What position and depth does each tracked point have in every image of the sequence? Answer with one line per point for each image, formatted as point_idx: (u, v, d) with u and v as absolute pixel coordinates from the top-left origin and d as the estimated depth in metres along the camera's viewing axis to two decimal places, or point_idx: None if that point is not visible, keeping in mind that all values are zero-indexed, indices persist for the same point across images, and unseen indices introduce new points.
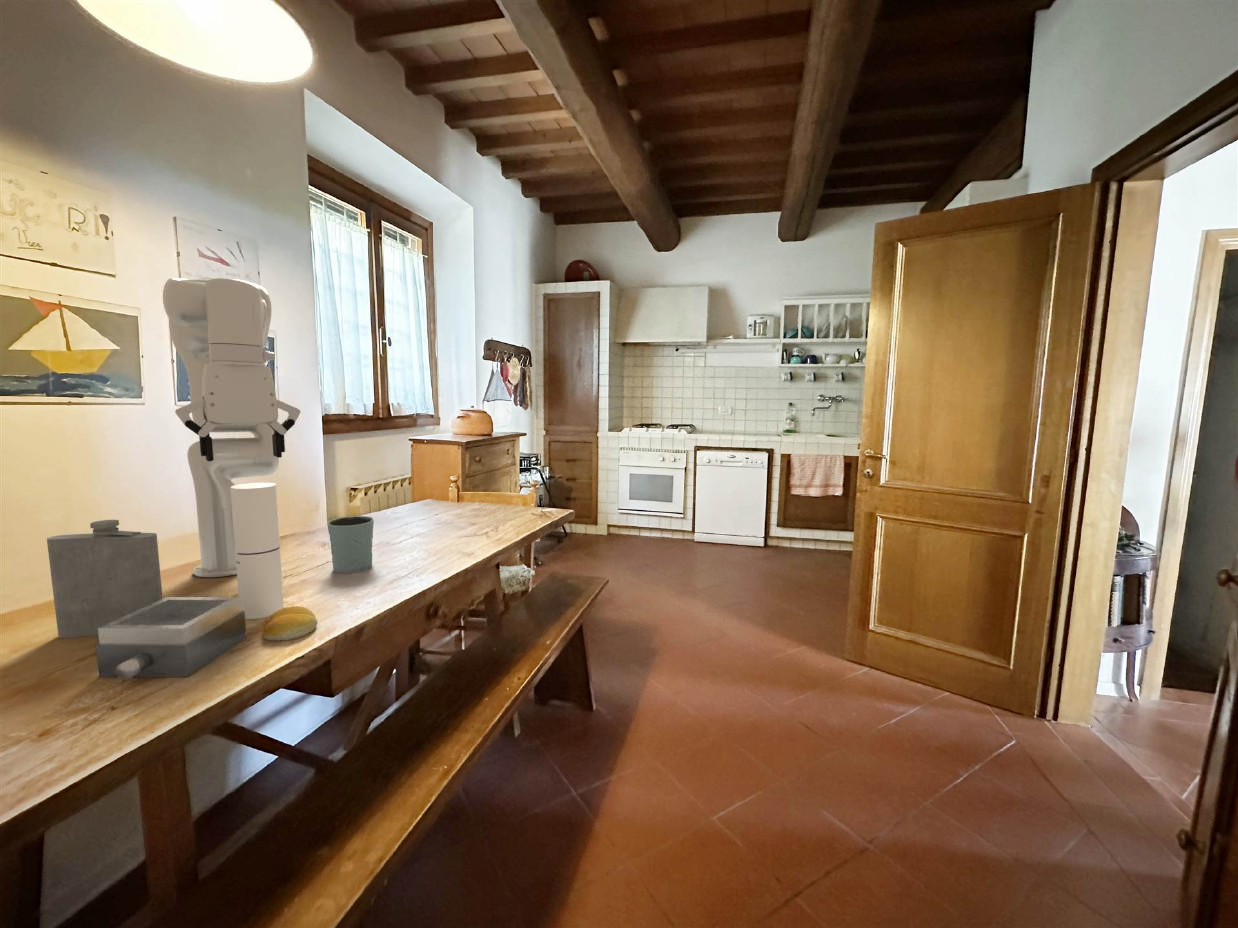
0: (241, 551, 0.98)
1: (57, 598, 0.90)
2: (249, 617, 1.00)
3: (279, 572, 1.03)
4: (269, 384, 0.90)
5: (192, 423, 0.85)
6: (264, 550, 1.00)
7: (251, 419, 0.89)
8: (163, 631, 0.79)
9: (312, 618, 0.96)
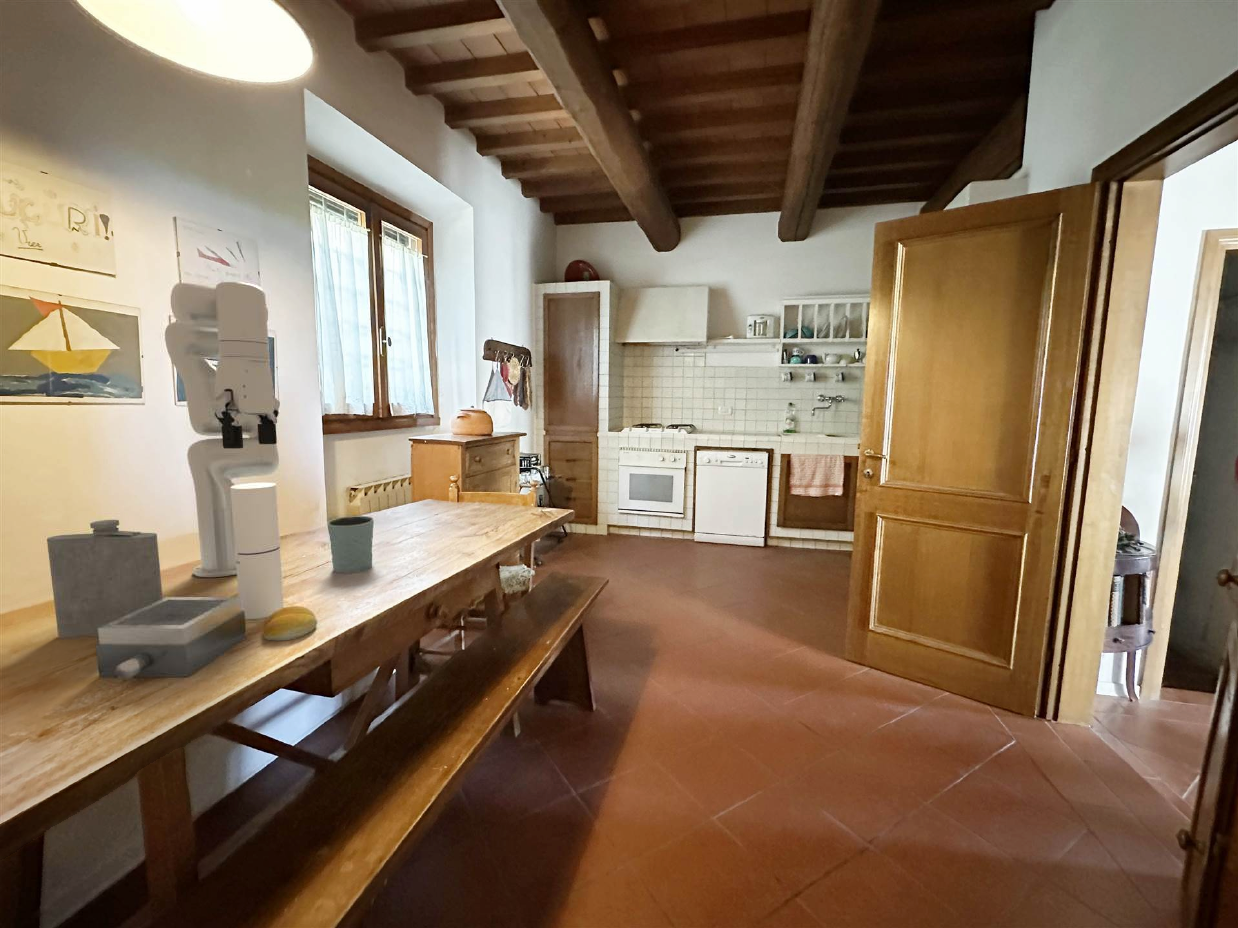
0: (241, 551, 0.98)
1: (58, 598, 0.90)
2: (249, 617, 1.00)
3: (279, 572, 1.03)
4: (271, 378, 1.02)
5: (228, 413, 0.92)
6: (264, 550, 1.00)
7: (263, 409, 0.99)
8: (163, 631, 0.79)
9: (312, 618, 0.96)
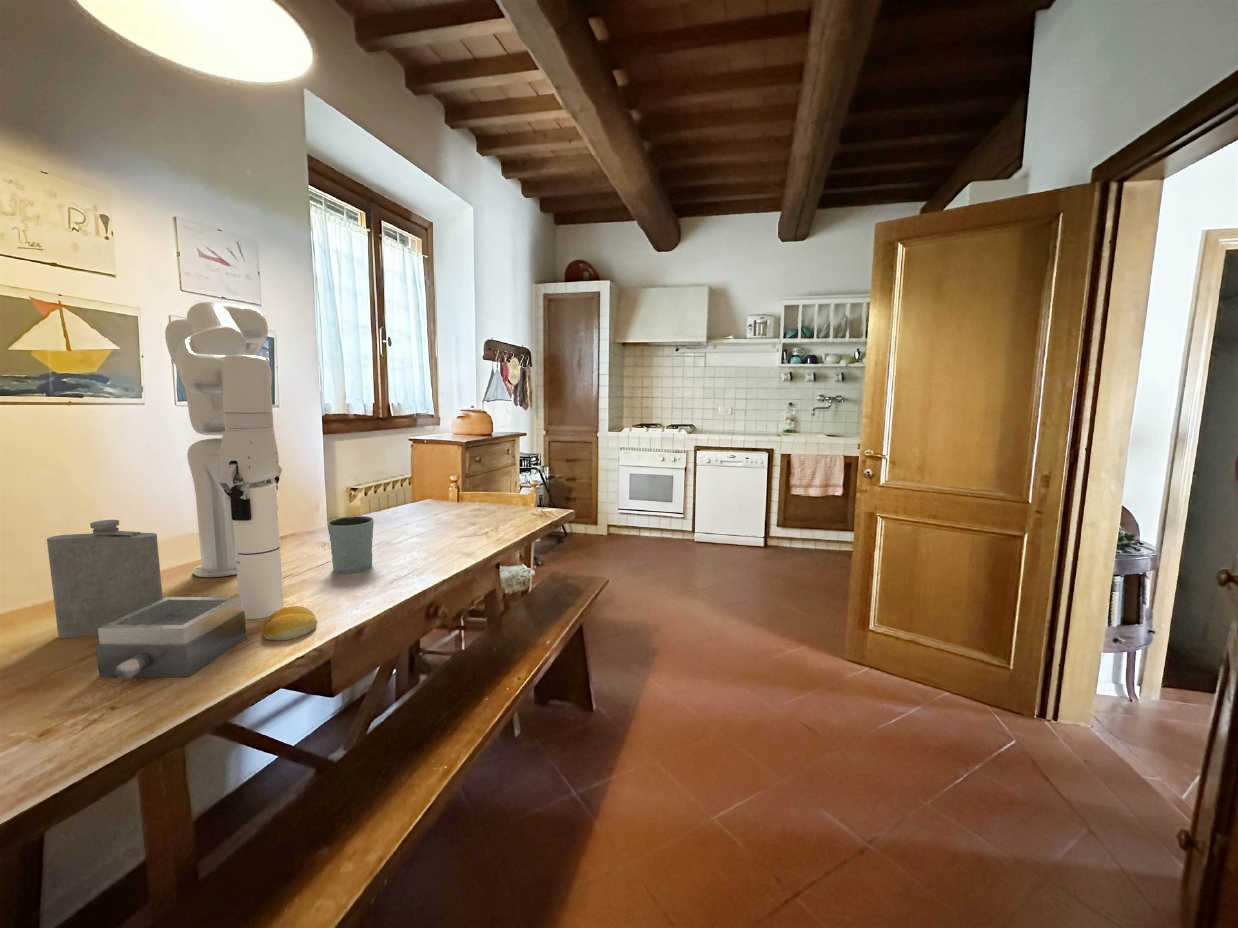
0: (241, 551, 0.98)
1: (57, 598, 0.90)
2: (249, 617, 1.00)
3: (279, 572, 1.03)
4: (275, 444, 1.03)
5: (237, 488, 0.95)
6: (264, 550, 1.00)
7: (267, 476, 1.01)
8: (163, 631, 0.79)
9: (312, 618, 0.96)
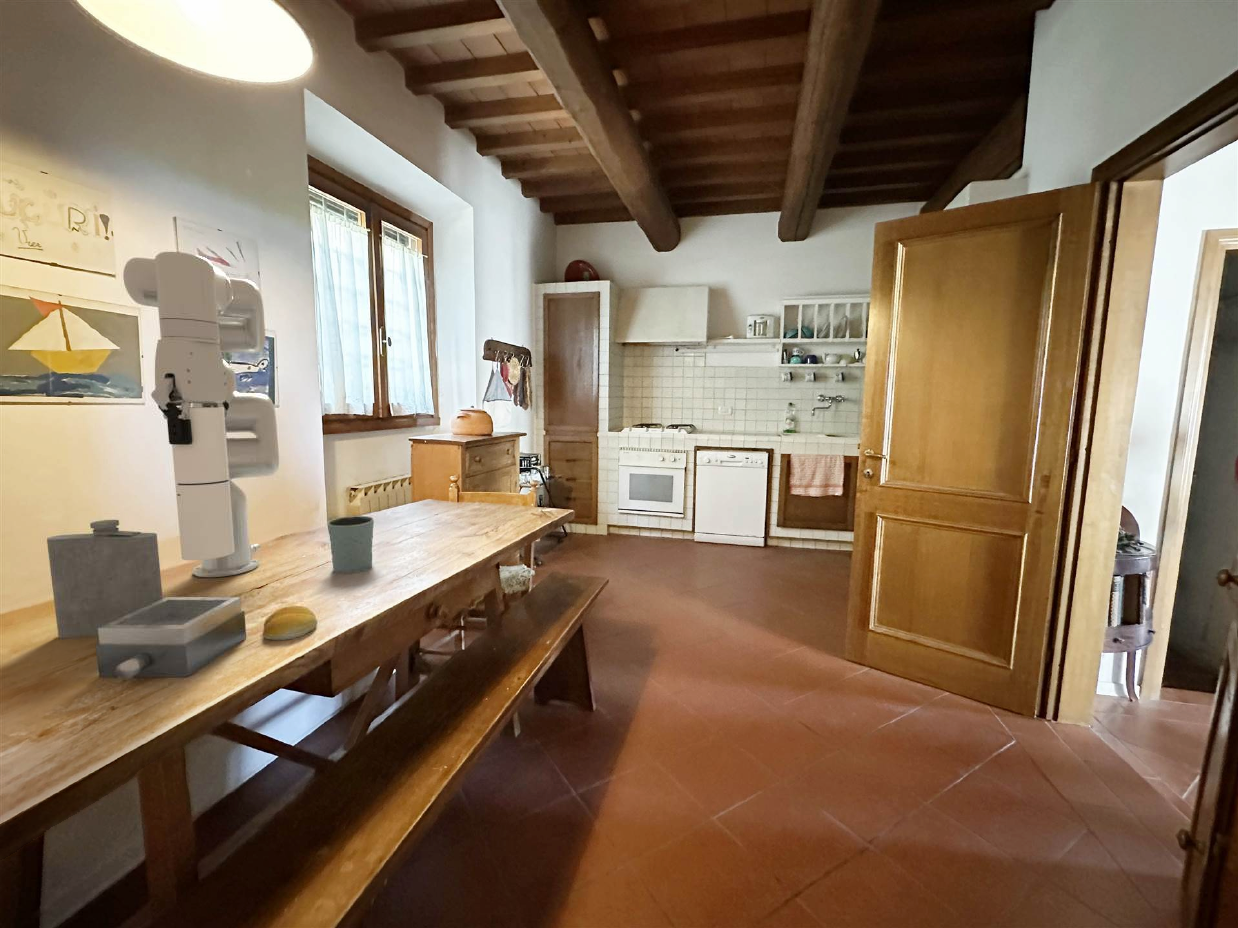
0: (181, 481, 0.85)
1: (57, 598, 0.90)
2: (192, 558, 0.87)
3: (228, 509, 0.90)
4: (222, 363, 0.91)
5: (174, 405, 0.82)
6: (209, 481, 0.87)
7: (213, 398, 0.88)
8: (163, 631, 0.79)
9: (312, 617, 0.96)
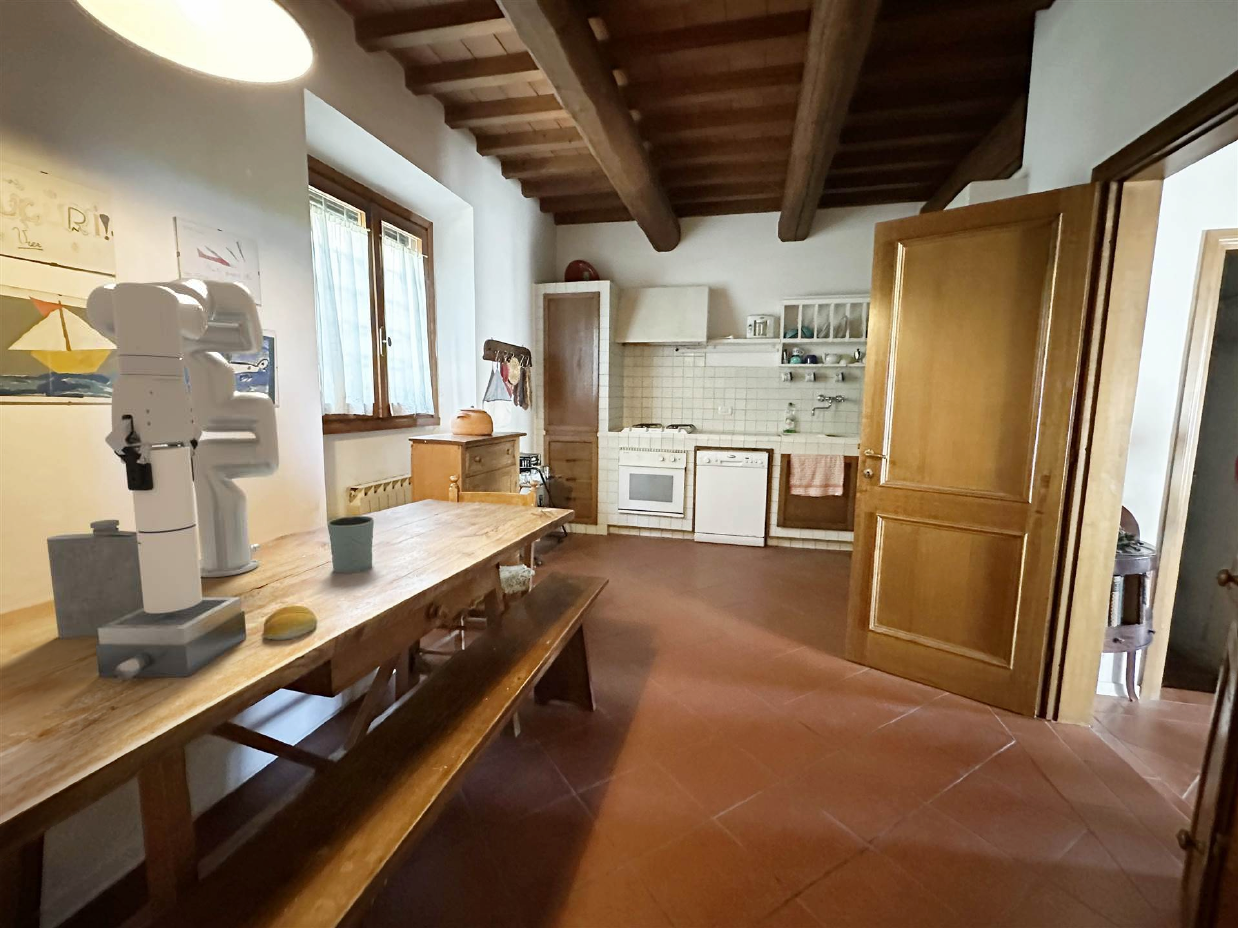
0: (142, 529, 0.79)
1: (57, 598, 0.90)
2: (154, 611, 0.81)
3: (194, 556, 0.84)
4: (189, 399, 0.84)
5: (131, 449, 0.76)
6: (172, 528, 0.81)
7: (177, 437, 0.82)
8: (163, 631, 0.79)
9: (312, 617, 0.96)
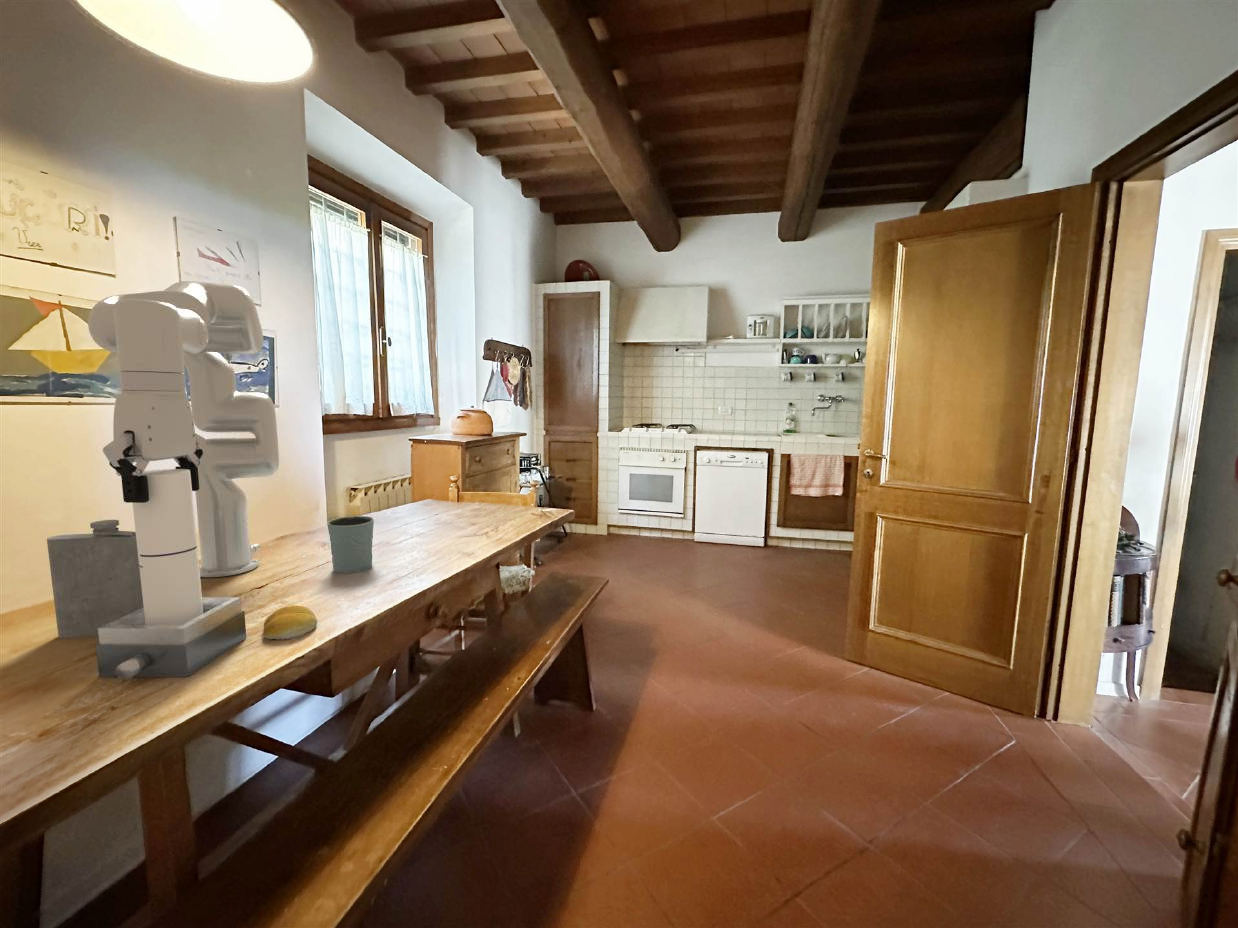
0: (144, 552, 0.80)
1: (57, 598, 0.90)
2: None
3: (195, 578, 0.85)
4: (190, 413, 0.85)
5: (127, 461, 0.75)
6: (173, 551, 0.81)
7: (179, 452, 0.83)
8: (163, 631, 0.79)
9: (312, 617, 0.96)
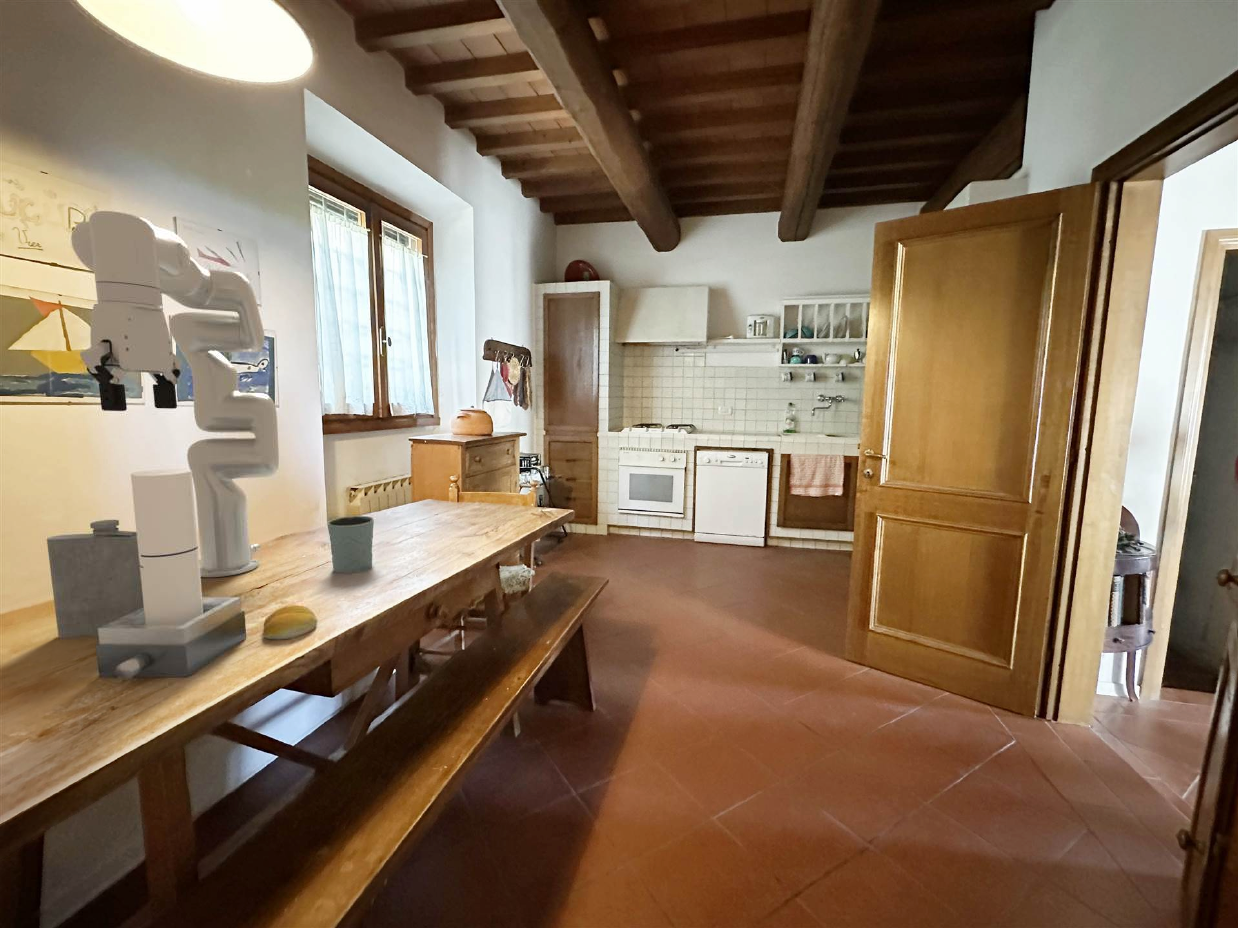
0: (144, 553, 0.80)
1: (57, 598, 0.90)
2: None
3: (196, 578, 0.85)
4: (167, 331, 0.87)
5: (104, 368, 0.77)
6: (174, 551, 0.81)
7: (156, 367, 0.85)
8: (163, 631, 0.79)
9: (312, 617, 0.96)
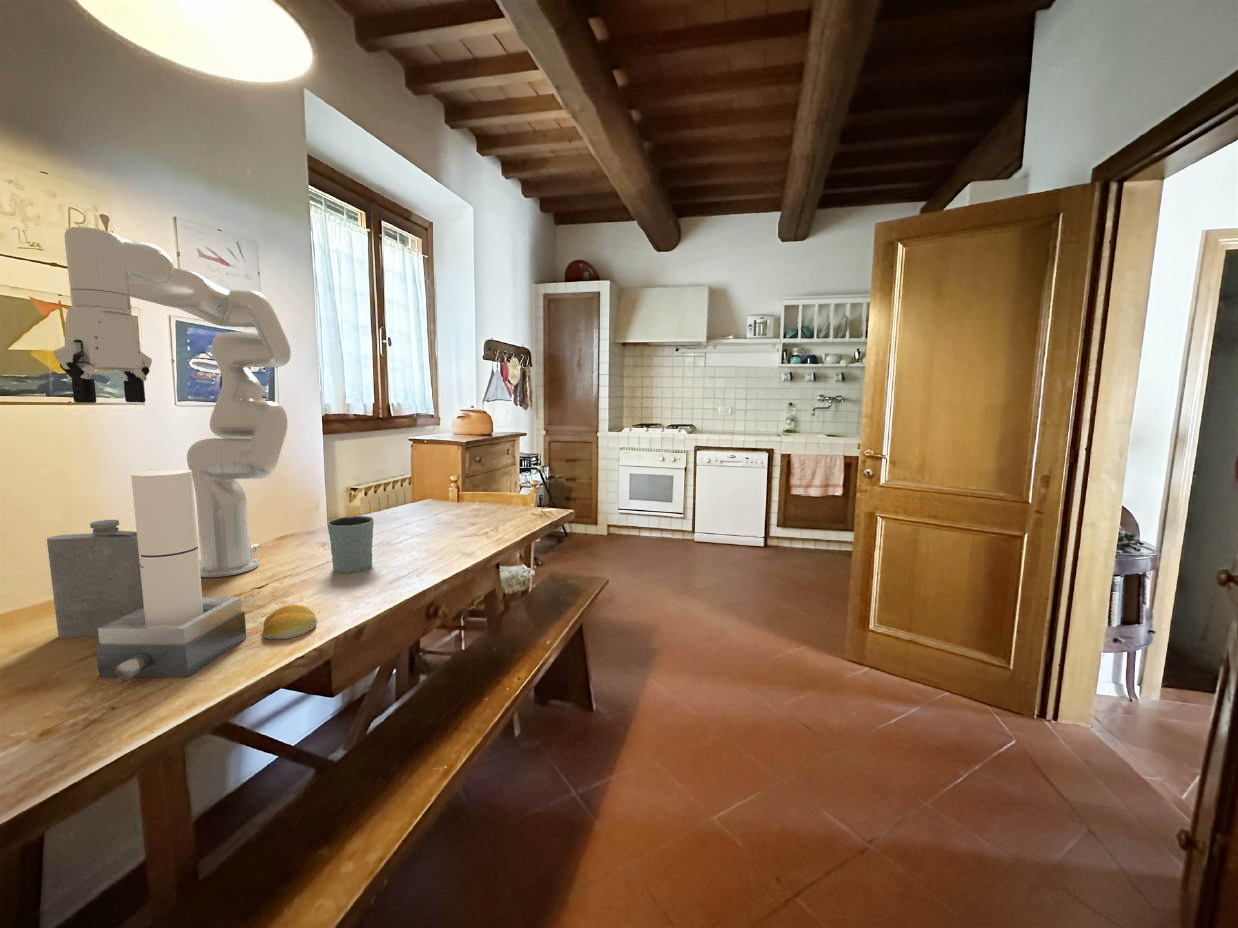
0: (144, 553, 0.80)
1: (57, 598, 0.90)
2: None
3: (196, 578, 0.85)
4: (136, 332, 0.97)
5: (75, 365, 0.87)
6: (174, 551, 0.81)
7: (125, 364, 0.95)
8: (163, 631, 0.79)
9: (312, 617, 0.96)
